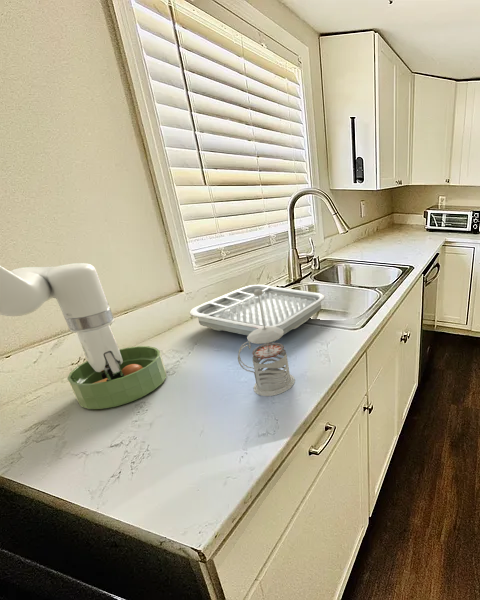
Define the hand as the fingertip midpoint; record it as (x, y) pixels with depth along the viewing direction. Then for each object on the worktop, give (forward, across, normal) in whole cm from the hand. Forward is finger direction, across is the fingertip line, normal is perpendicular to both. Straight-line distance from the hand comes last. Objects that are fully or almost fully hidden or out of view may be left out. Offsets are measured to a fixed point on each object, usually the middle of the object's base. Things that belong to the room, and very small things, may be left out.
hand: (117, 387), depth 79 cm
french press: (+1, +28, +23) cm, 37 cm away
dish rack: (+1, -7, +43) cm, 44 cm away
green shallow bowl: (+1, 0, +1) cm, 2 cm away
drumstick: (0, 0, 0) cm, 0 cm away
